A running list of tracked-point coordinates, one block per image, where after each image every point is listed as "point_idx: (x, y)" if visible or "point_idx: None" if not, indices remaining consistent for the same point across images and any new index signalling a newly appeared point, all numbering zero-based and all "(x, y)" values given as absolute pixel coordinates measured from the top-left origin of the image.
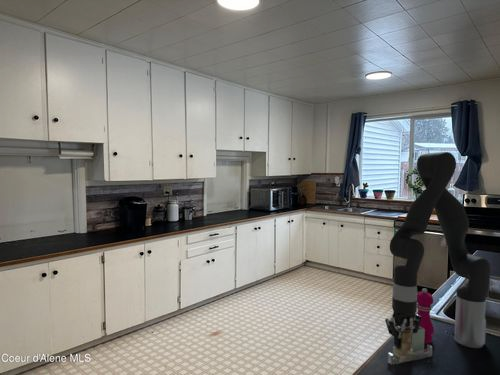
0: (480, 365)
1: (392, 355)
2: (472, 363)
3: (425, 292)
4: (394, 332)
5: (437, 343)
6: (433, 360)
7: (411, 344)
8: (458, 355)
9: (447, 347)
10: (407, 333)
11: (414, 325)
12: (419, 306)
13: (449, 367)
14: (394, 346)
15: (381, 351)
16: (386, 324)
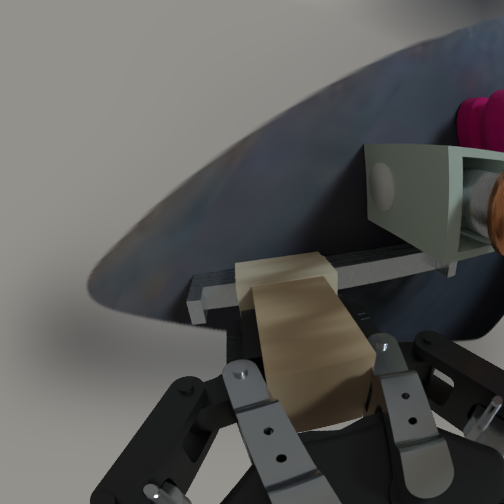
0: (482, 319)
1: (199, 323)
2: (478, 310)
3: None
4: (188, 452)
5: None
6: (409, 285)
7: (394, 233)
8: (488, 266)
9: None
10: (320, 426)
11: (496, 250)
12: None
13: (416, 328)
14: (247, 288)
15: (223, 163)
16: (117, 460)
